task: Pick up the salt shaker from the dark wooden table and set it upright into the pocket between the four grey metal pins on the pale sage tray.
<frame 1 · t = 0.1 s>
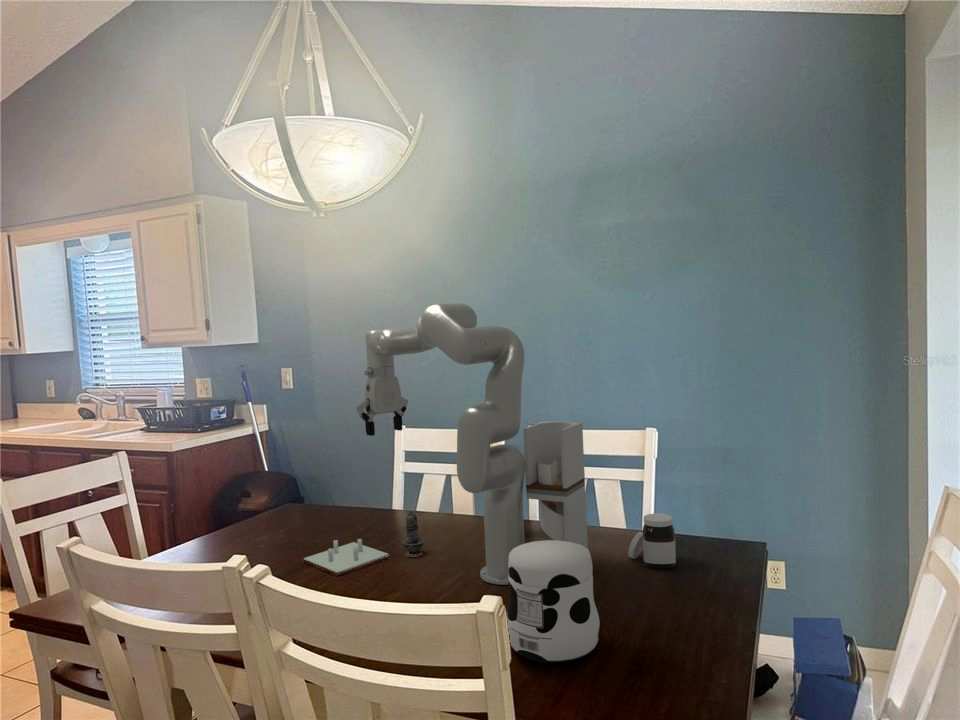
hand: (384, 432, 192), 31 cm above the table, tool pointing down, fingers open, 9 cm apart
milk container: (553, 649, 125), on the table
salt shaker: (413, 555, 180), on the table
open shelf unit: (559, 565, 167), on the table
pin tray: (346, 560, 178), on the table
spread jar: (651, 563, 166), on the table
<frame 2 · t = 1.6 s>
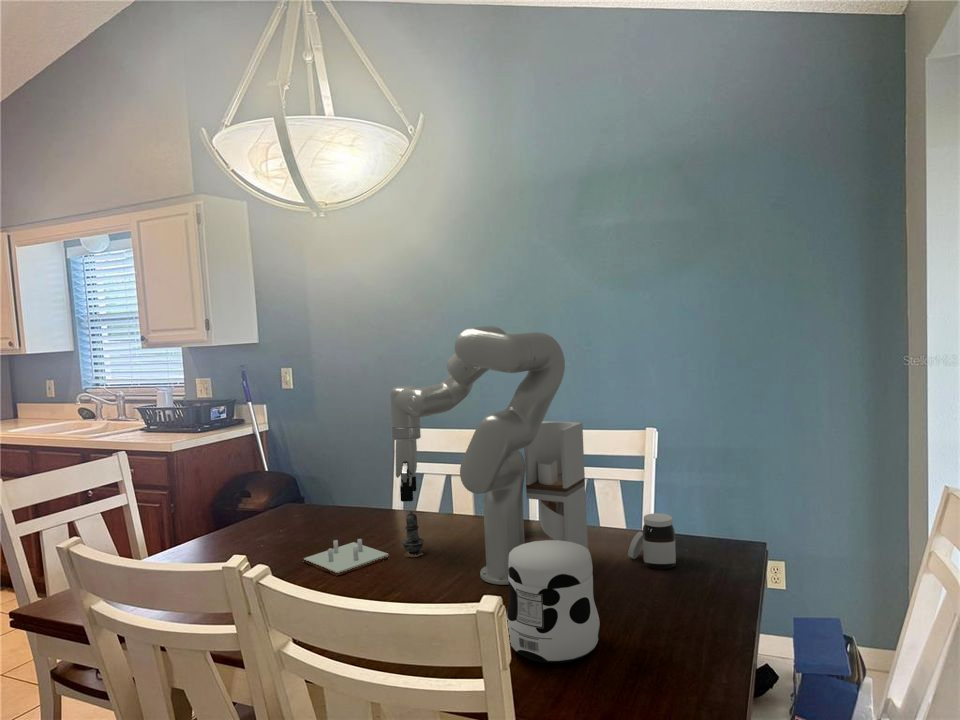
hand: (408, 495, 180), 16 cm above the table, tool pointing down, fingers open, 9 cm apart
nothing on the table moved.
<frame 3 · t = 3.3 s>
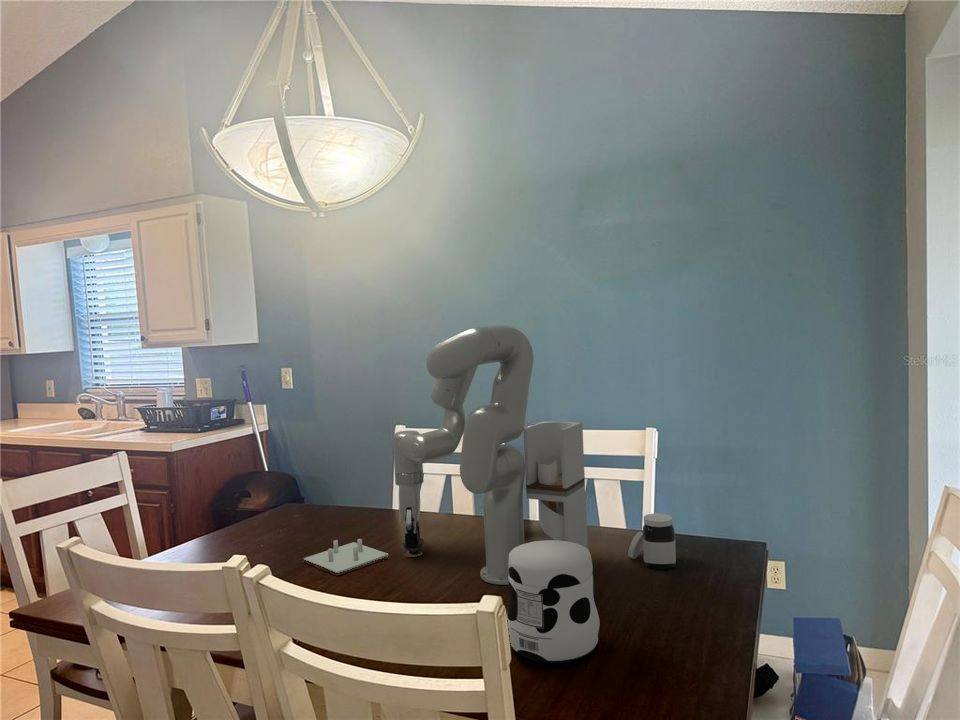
hand: (412, 543, 180), 3 cm above the table, tool pointing down, fingers closed on salt shaker, 5 cm apart
salt shaker: (413, 555, 180), on the table, touching gripper
everything else where it was.
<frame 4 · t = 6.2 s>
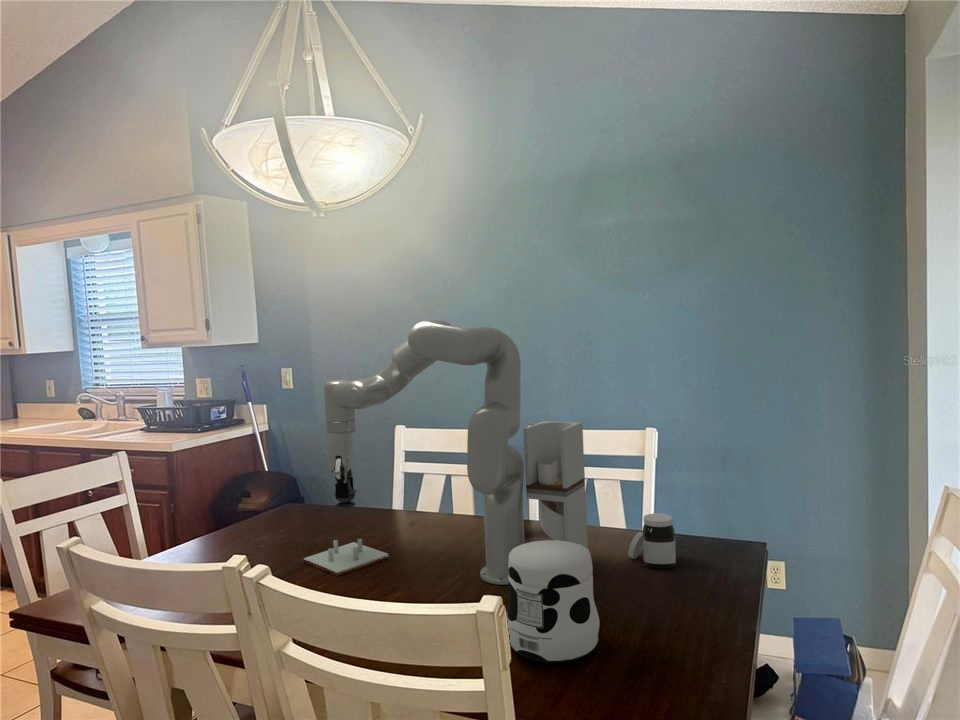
hand: (344, 494, 177), 18 cm above the table, tool pointing down, fingers closed on salt shaker, 5 cm apart
salt shaker: (345, 505, 177), point 15 cm above the table, touching gripper
everything else where it was.
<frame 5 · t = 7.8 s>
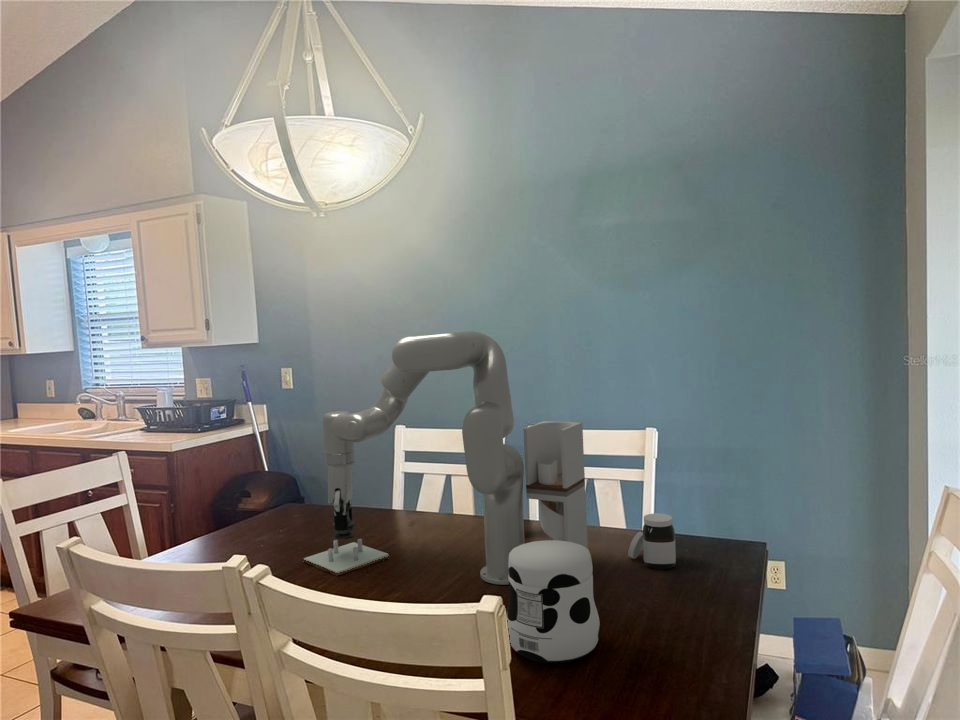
hand: (343, 525, 178), 9 cm above the table, tool pointing down, fingers closed on salt shaker, 5 cm apart
salt shaker: (344, 537, 178), point 6 cm above the table, touching gripper
everything else where it was.
when the fingers open (5 cm above the table, at t = 9.0 s): salt shaker drops 1 cm, resting on pin tray.
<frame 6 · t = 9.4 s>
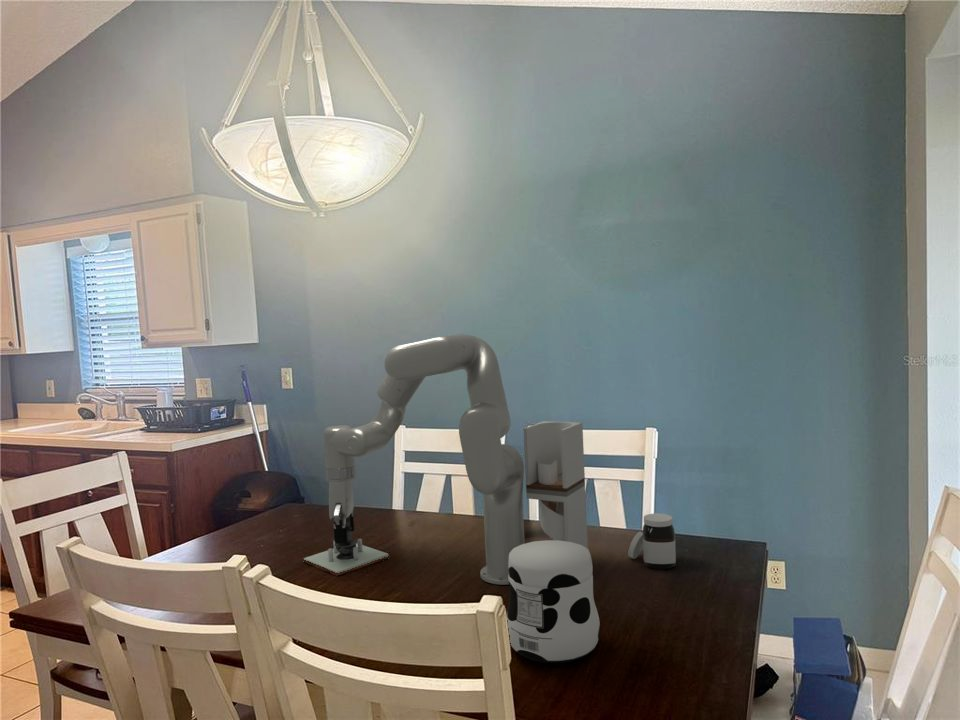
hand: (344, 536, 178), 6 cm above the table, tool pointing down, fingers open, 9 cm apart
salt shaker: (346, 556, 178), point 1 cm above the table, touching pin tray
everything else where it was.
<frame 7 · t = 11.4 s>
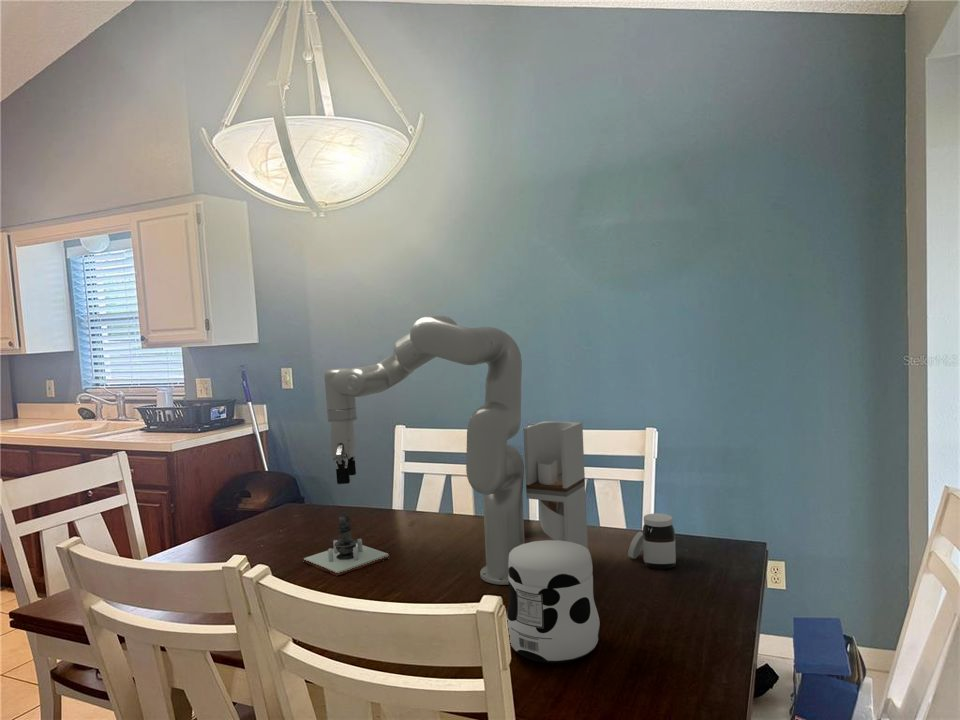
hand: (346, 479, 178), 21 cm above the table, tool pointing down, fingers open, 9 cm apart
nothing on the table moved.
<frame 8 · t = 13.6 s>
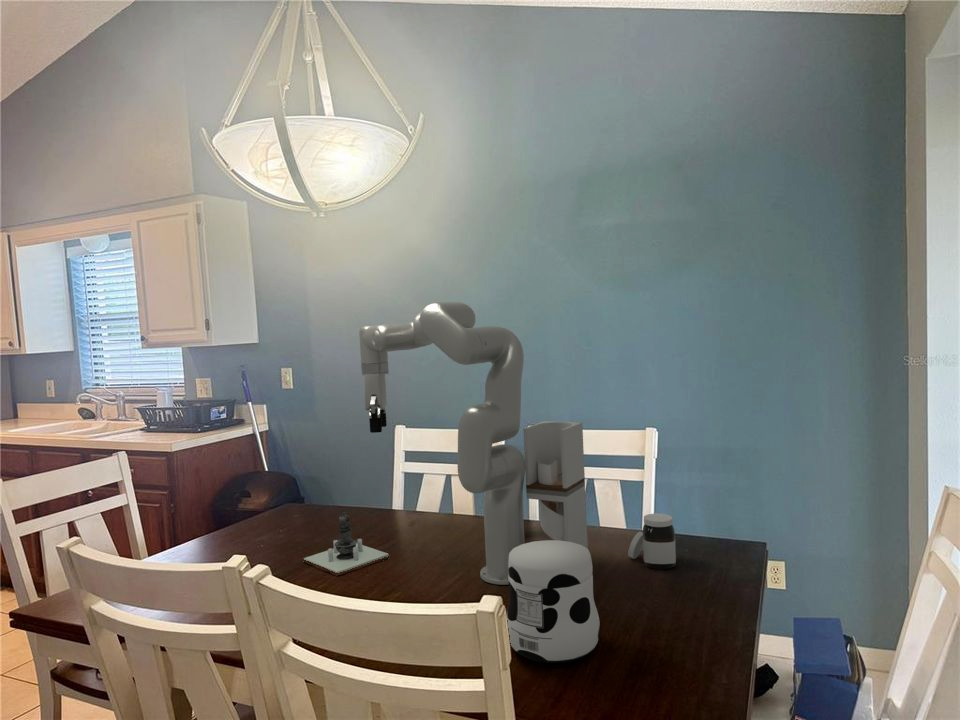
hand: (378, 429, 190), 32 cm above the table, tool pointing down, fingers open, 9 cm apart
nothing on the table moved.
at the end: salt shaker 0.2 cm off-centre on the pin tray, point 1.0 cm above the pin tray's base; salt shaker tilted 0°; the gripper is holding nothing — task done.
